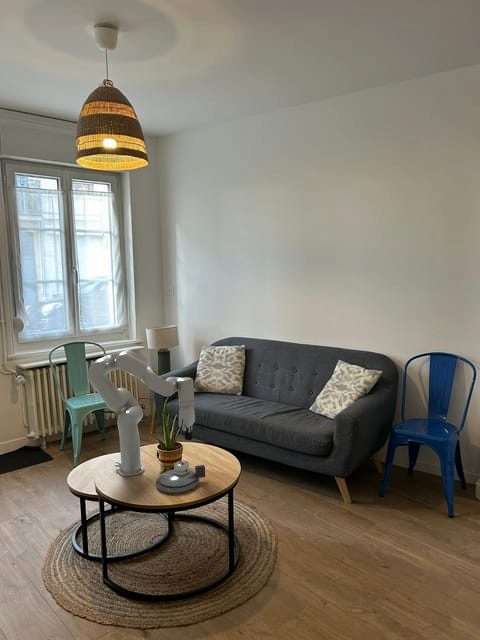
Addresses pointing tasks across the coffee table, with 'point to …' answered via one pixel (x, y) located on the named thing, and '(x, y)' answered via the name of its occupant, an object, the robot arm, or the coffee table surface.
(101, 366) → the robot arm
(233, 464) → the coffee table surface
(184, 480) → the round gray housing
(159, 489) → the turntable base
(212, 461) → the coffee table surface
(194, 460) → the coffee table surface
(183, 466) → the cover
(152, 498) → the coffee table surface
